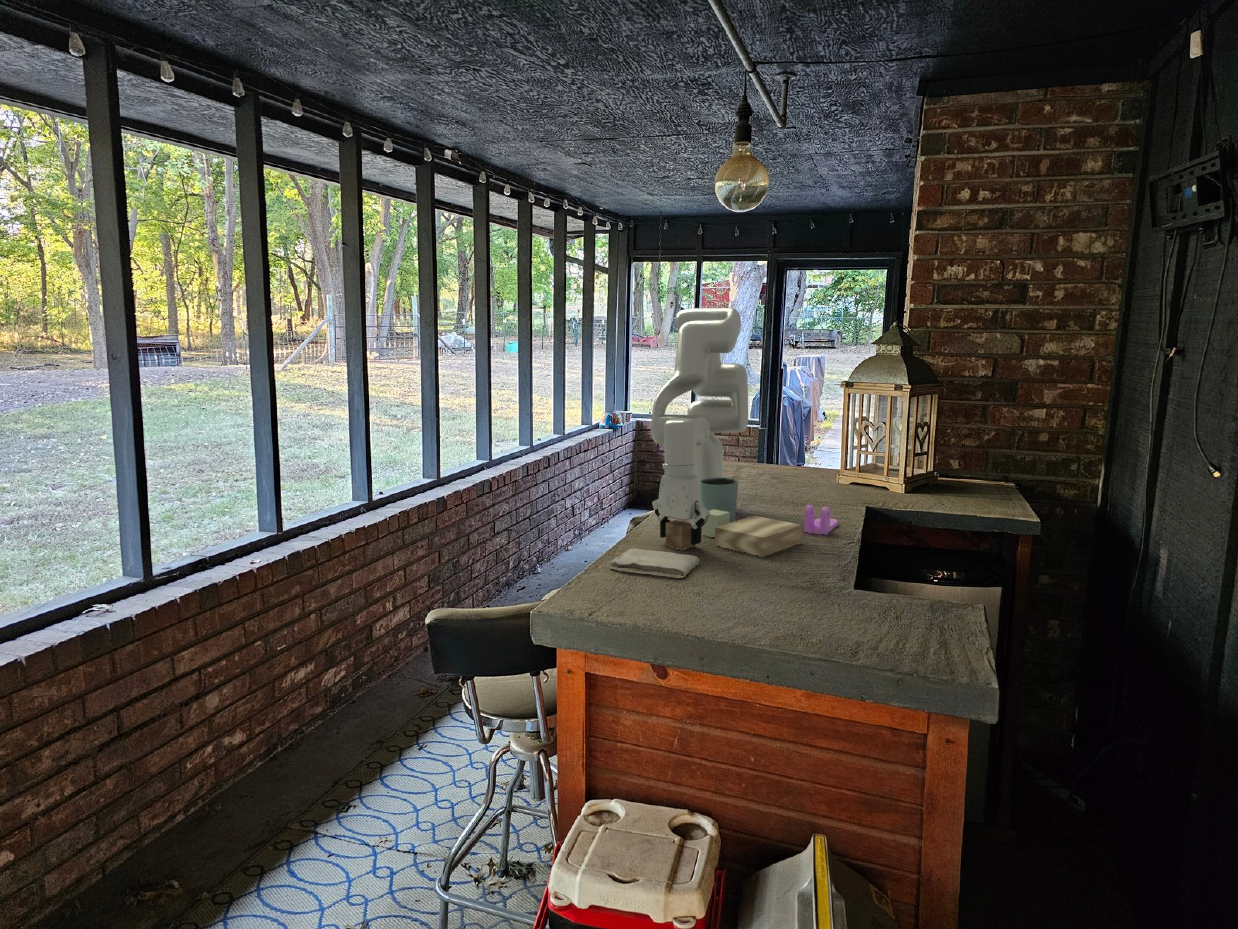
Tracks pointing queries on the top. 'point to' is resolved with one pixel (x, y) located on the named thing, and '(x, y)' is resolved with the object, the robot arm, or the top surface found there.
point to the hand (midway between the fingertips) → (680, 540)
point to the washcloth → (656, 561)
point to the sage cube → (715, 522)
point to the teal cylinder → (720, 494)
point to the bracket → (818, 521)
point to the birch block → (758, 535)
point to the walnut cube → (678, 534)
